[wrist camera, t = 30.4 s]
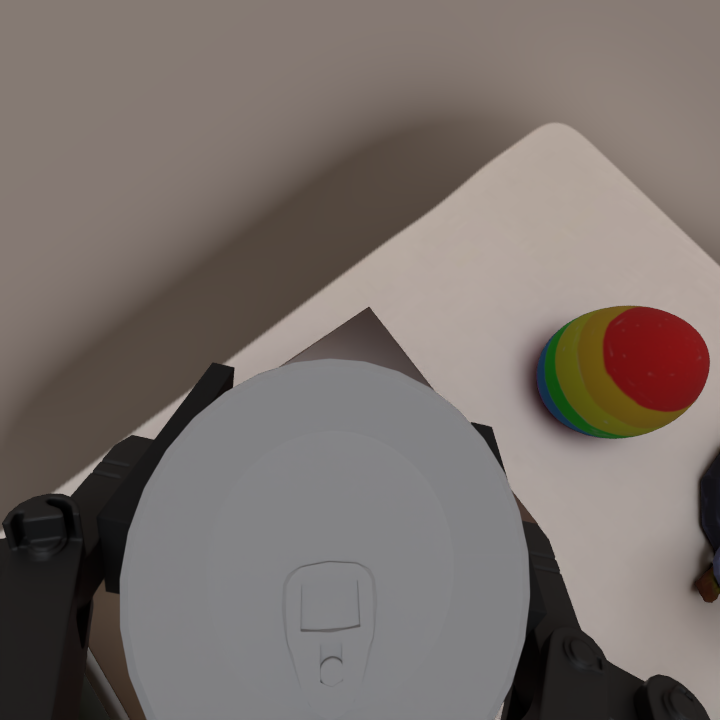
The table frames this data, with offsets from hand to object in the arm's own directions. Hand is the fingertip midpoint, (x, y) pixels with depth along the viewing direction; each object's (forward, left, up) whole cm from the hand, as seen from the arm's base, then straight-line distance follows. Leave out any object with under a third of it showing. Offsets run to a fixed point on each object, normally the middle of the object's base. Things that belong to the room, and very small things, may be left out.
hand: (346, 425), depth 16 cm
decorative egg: (+15, +11, -14) cm, 23 cm away
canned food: (+1, -3, -4) cm, 5 cm away
